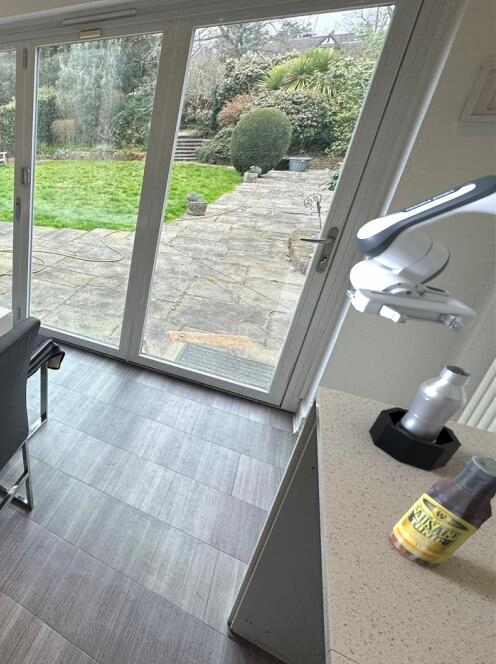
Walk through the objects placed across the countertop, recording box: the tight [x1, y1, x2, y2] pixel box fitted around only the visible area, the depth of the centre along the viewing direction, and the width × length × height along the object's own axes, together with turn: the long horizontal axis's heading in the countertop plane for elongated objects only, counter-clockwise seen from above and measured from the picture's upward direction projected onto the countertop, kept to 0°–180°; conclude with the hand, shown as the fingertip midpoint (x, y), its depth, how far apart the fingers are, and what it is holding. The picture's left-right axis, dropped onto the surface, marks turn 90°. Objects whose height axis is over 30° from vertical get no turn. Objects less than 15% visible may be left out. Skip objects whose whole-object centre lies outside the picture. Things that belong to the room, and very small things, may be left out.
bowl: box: [368, 406, 462, 472], centre depth 84 cm, size 11×11×6 cm
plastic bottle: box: [395, 364, 473, 443], centre depth 81 cm, size 6×7×20 cm
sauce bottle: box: [389, 455, 496, 567], centre depth 61 cm, size 6×6×20 cm
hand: (430, 324), depth 85 cm, fingers open, 8 cm apart
